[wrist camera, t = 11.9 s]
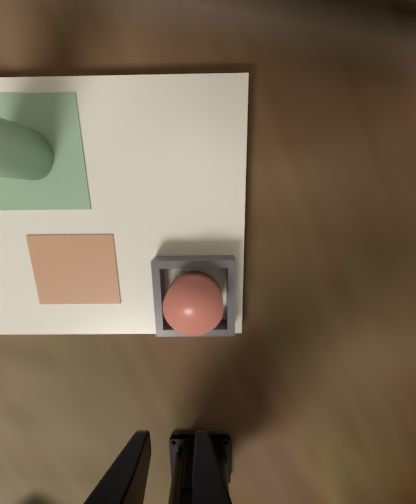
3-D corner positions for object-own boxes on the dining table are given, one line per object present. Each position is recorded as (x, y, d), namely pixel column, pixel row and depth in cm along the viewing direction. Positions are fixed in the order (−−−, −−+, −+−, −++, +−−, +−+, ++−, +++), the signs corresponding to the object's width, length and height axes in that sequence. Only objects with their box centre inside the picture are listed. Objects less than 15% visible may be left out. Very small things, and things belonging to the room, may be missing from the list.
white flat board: (240, 326, 21) (244, 344, 18) (7, 328, 21) (-20, 345, 19) (246, 80, 16) (253, 58, 14) (-54, 85, 16) (-102, 65, 14)
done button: (222, 321, 19) (223, 335, 17) (169, 321, 19) (164, 335, 17) (222, 270, 18) (223, 279, 16) (166, 271, 18) (160, 280, 16)
